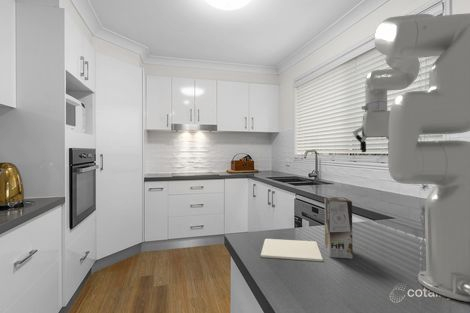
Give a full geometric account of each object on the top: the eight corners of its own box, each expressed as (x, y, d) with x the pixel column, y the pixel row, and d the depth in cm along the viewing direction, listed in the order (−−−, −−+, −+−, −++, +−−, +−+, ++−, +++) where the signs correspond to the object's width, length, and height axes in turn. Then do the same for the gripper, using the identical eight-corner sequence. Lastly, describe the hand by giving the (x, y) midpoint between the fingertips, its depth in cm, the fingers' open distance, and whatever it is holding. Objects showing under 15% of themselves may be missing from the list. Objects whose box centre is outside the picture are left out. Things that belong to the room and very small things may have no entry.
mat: (322, 261, 69) (322, 259, 69) (260, 257, 72) (260, 255, 72) (316, 243, 84) (316, 241, 84) (265, 240, 88) (265, 238, 88)
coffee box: (353, 259, 70) (352, 201, 71) (329, 257, 72) (328, 200, 72) (346, 248, 79) (345, 197, 80) (324, 247, 81) (324, 196, 81)
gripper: (355, 107, 97) (356, 151, 97) (405, 105, 94) (406, 151, 93) (350, 111, 105) (351, 152, 104) (396, 109, 101) (397, 152, 101)
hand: (377, 151), depth 99 cm, fingers open, 9 cm apart
